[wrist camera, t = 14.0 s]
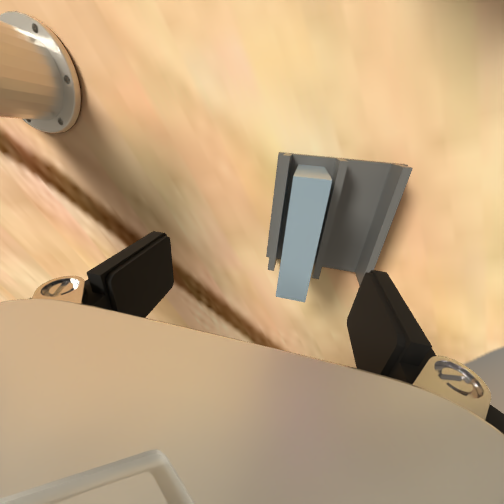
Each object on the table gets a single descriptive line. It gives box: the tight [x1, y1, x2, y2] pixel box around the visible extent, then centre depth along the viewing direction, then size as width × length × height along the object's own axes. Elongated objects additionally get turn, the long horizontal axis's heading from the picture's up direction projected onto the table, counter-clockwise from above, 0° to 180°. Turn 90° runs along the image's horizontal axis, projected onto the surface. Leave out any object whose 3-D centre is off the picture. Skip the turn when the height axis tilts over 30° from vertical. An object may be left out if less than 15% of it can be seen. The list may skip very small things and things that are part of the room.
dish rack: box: [266, 152, 412, 285], centre depth 27 cm, size 14×14×4 cm
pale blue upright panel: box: [276, 164, 332, 302], centre depth 25 cm, size 12×3×10 cm, turn 176°
